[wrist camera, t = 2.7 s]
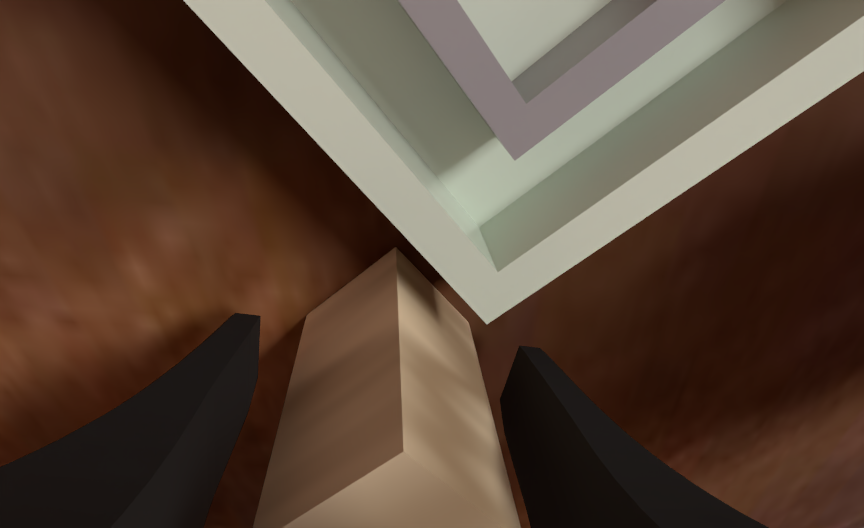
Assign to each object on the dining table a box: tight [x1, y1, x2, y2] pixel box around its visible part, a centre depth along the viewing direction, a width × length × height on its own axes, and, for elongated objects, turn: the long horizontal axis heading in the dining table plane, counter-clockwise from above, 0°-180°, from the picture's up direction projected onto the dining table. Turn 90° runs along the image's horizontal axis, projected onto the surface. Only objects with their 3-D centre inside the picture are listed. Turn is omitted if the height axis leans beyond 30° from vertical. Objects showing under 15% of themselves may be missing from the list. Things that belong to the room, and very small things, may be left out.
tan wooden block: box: [253, 247, 521, 528], centre depth 12 cm, size 4×4×7 cm
